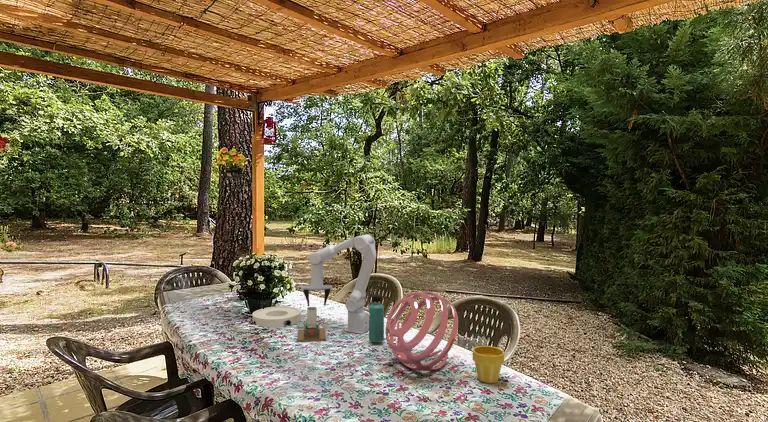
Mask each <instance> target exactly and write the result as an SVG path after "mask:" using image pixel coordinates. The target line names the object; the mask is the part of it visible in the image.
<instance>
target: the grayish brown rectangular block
mask: <svg viewBox="0 0 768 422" xmlns="http://www.w3.org/2000/svg"><path fill="white" fill-rule="evenodd" d="M317 309H318V307H316V306H307V311H306V312H307V313H306V325H307V328H317V324H318V323H317V318H318V317H317V315H318V312H317V311H318V310H317Z"/></svg>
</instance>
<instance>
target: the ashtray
mask: <svg viewBox="0 0 768 422" xmlns="http://www.w3.org/2000/svg"><path fill="white" fill-rule="evenodd" d="M251 319H252V322H253V323H254V322H255V323H254V324H255V326H257V325H259V326H258V327H261V326H264V327H263V328H281V327H284V326H286V325H287V324H288V323H289V322H290V325H291V326H292V325H294V324H295V325H296V324H298V323H299V322H300V321H301V320H302V311H301V310H300V309H299V308H297V307H293V306H268V307H264V309H263V308H260V309H257V310H254V311H253V312H252V318H251ZM253 323H252V324H253Z"/></svg>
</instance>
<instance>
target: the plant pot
mask: <svg viewBox="0 0 768 422" xmlns="http://www.w3.org/2000/svg"><path fill="white" fill-rule="evenodd" d="M472 360H473V362H474V365H475V369H476V375H477V379H478V381H480V382H482V383H484V384H485V383H487V384H495V383H498V381H499V377H500V373H501V369H502V367H503V364H504V363H505V351H504V350H502V349H501V348H499V347H496V346H490V345H479V346H475V347H473V348H472Z"/></svg>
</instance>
